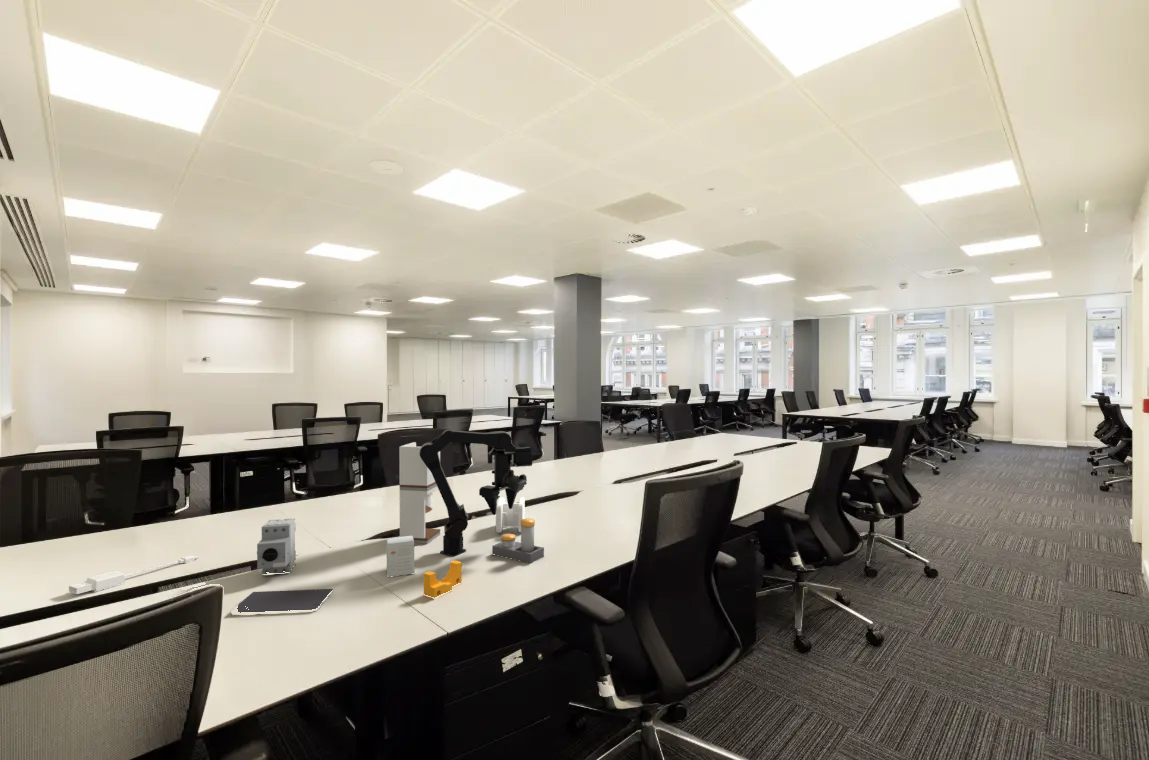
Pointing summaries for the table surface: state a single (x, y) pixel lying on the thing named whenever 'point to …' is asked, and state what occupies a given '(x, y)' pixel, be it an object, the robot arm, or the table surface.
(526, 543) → the plug
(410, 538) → the small box
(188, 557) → the charging cable
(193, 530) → the table surface
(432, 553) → the table surface
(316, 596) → the notebook
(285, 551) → the circuit breaker
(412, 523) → the display case
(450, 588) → the pipe clamp
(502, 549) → the grey divided tray
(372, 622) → the table surface
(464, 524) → the robot arm
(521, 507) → the cable organizer
